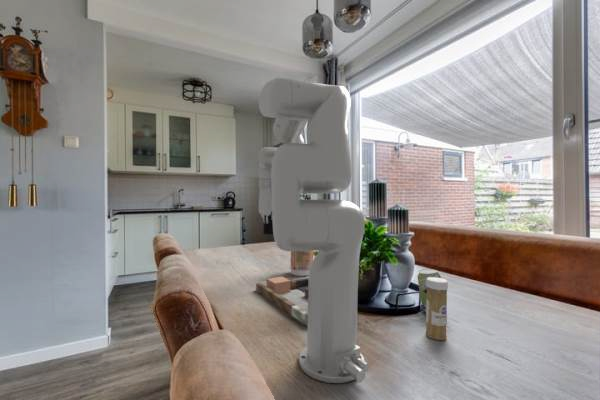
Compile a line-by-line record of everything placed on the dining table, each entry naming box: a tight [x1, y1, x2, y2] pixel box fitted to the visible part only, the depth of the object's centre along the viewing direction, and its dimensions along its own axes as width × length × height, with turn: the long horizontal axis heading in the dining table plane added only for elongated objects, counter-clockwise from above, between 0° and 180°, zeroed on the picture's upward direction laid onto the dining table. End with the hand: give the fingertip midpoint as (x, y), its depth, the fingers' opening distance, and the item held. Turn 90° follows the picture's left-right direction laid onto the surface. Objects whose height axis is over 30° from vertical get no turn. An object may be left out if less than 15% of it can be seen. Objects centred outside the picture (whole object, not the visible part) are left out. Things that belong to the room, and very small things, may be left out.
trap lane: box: [255, 277, 309, 328], centre depth 89 cm, size 32×22×3 cm
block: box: [266, 276, 291, 295], centre depth 97 cm, size 6×6×4 cm
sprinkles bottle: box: [425, 277, 449, 341], centre depth 66 cm, size 5×5×14 cm
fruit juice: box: [290, 250, 314, 277], centre depth 119 cm, size 9×9×28 cm
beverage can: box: [417, 269, 442, 313], centre depth 80 cm, size 6×7×12 cm
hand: (268, 233), depth 104 cm, fingers closed
